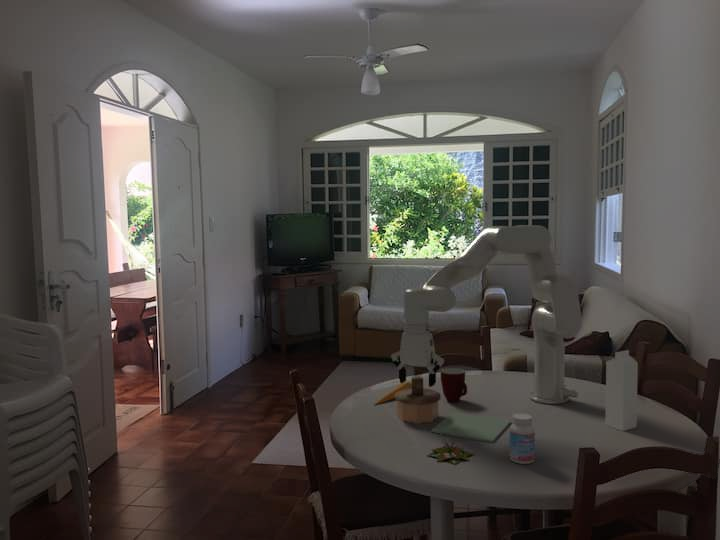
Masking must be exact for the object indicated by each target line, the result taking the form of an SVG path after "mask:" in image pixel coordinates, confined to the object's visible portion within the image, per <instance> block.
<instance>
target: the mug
mask: <svg viewBox="0 0 720 540" xmlns="http://www.w3.org/2000/svg"><path fill="white" fill-rule="evenodd" d="M440 381H441V389H442V393H443V396H444V397H445V400H446V401H447V402H449V401H450V402H451V403H457V401H458V402H459V401H460V400H461V398H462V397H465V396H466V395H467V394H468V386H467V384H466V382H465V381H466V371H465V370H464V369H461V368H457V367H456V368H454V367H453V368H452V367H451V368H450V367H449V368H442V369H441V370H440ZM450 402H449V403H450Z"/></svg>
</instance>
